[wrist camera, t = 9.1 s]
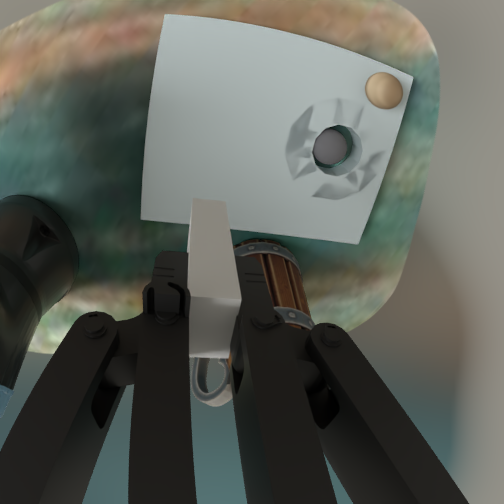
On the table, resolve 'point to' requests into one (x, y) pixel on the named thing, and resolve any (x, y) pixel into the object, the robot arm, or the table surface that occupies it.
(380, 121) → the white slab
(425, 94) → the table surface
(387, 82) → the cork ball
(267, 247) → the mug
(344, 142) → the ball
